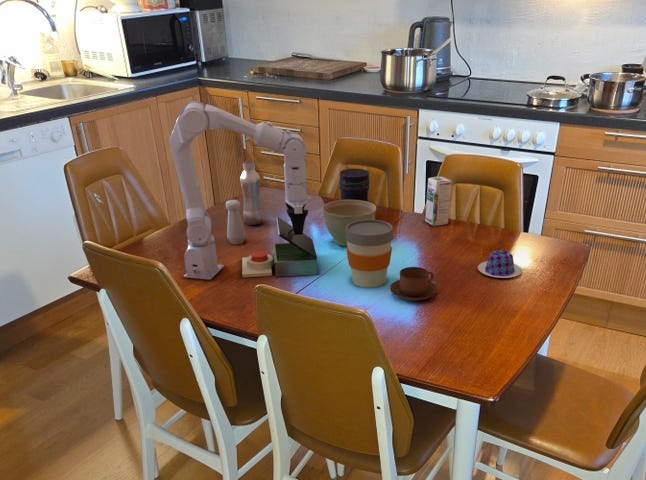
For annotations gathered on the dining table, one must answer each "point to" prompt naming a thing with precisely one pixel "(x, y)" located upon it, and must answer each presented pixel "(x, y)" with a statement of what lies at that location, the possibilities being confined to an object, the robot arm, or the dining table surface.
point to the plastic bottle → (251, 194)
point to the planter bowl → (346, 216)
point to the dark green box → (292, 261)
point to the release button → (259, 256)
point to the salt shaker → (235, 223)
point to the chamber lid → (295, 238)
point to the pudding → (500, 265)
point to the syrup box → (438, 201)
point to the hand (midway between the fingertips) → (297, 231)
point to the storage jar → (354, 184)
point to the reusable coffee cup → (369, 251)
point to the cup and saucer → (414, 284)
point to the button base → (256, 267)
